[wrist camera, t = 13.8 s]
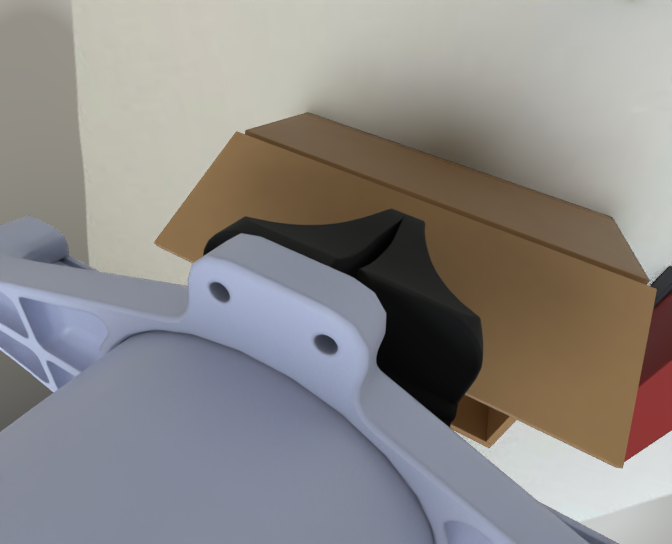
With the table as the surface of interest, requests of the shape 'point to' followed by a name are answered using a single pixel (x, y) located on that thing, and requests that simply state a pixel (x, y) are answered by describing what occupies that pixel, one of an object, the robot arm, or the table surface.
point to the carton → (461, 213)
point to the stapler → (655, 375)
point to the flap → (465, 291)
